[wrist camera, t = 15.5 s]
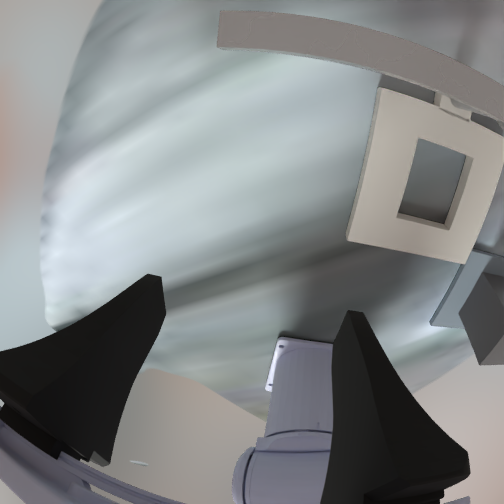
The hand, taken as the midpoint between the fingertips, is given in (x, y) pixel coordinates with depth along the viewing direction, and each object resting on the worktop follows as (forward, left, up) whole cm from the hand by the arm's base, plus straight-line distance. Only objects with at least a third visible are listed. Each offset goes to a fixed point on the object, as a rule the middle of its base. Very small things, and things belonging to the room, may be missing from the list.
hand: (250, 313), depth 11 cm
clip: (+10, -4, -4) cm, 11 cm away
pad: (-4, -20, -10) cm, 22 cm away
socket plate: (+5, -10, -10) cm, 15 cm away
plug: (-4, -20, -9) cm, 22 cm away
